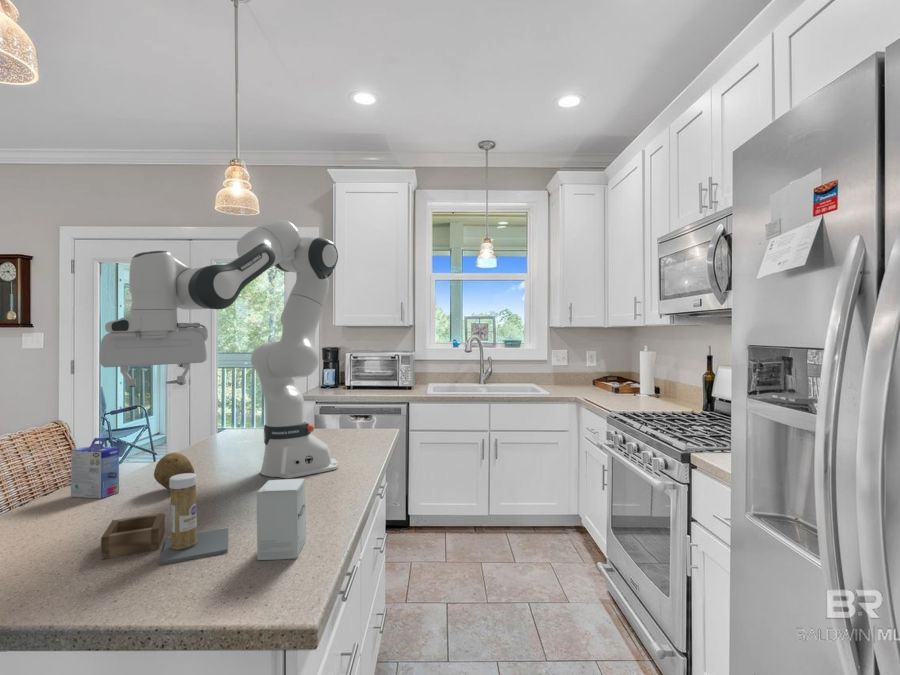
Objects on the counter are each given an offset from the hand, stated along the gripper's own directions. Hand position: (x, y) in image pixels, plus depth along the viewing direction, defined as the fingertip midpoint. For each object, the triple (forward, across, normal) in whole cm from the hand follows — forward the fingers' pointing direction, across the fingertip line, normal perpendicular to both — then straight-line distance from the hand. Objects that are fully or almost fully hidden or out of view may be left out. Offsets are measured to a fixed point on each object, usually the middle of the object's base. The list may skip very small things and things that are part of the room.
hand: (157, 385), depth 105 cm
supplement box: (+30, -22, +30) cm, 48 cm away
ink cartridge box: (+30, +18, -27) cm, 44 cm away
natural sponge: (+30, 0, -22) cm, 37 cm away
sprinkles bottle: (+30, -6, +20) cm, 36 cm away
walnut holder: (+30, +3, +13) cm, 33 cm away
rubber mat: (+30, -8, +20) cm, 37 cm away
